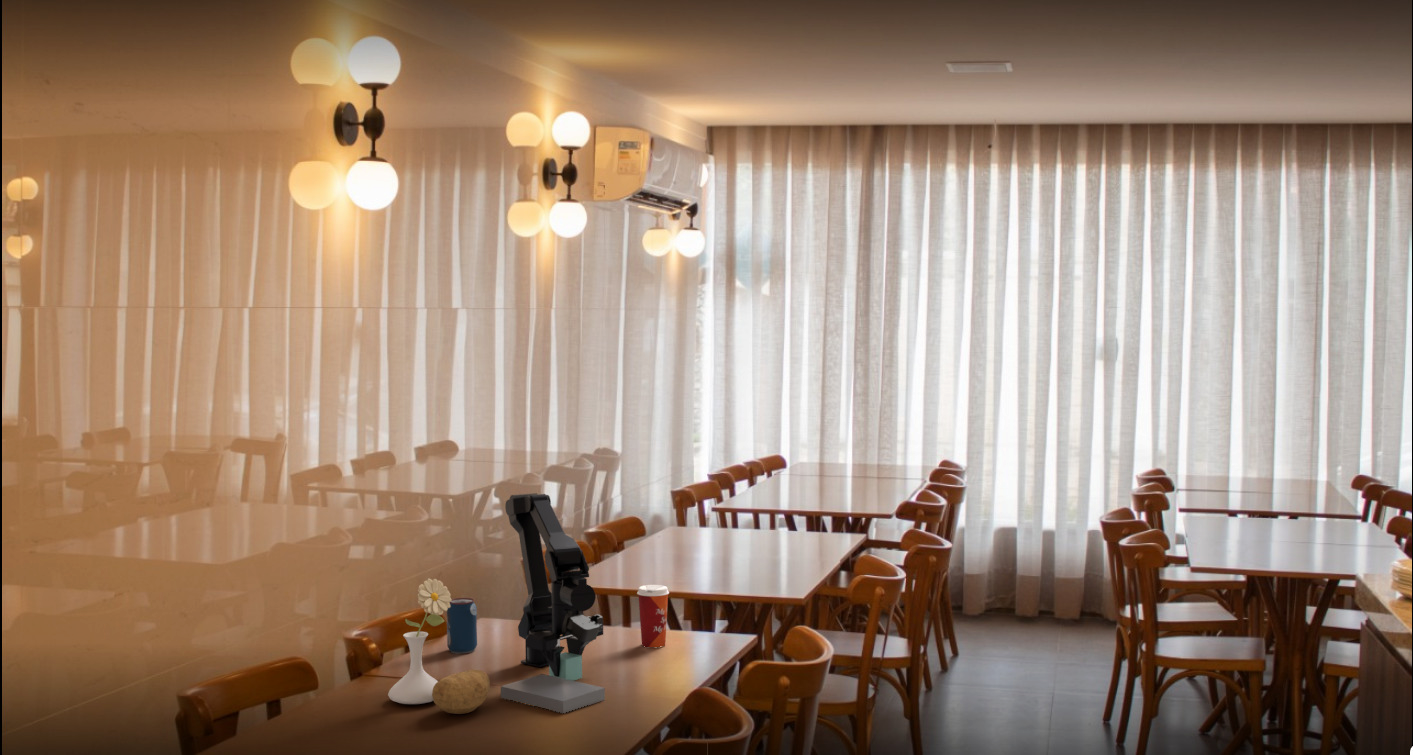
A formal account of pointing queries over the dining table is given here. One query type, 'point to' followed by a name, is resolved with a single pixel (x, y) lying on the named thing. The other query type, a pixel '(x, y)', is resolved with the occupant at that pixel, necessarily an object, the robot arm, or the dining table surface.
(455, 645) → the soda can
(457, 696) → the potato
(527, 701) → the slate board
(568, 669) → the teal cube
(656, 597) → the paper cup
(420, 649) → the flower in vase
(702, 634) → the dining table surface
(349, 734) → the dining table surface
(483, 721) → the dining table surface
